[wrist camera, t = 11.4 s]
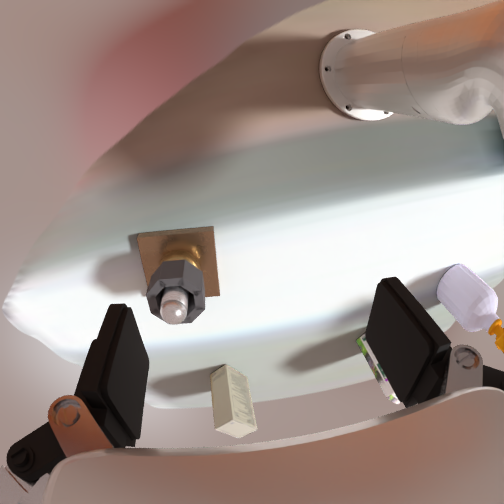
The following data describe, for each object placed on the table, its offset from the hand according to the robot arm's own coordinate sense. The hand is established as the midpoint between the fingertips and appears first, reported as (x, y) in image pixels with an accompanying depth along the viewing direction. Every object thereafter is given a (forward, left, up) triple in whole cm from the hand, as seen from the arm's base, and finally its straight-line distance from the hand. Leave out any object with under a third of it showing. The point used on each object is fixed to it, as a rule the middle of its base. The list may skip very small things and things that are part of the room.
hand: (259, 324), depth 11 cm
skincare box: (+2, +38, -28) cm, 48 cm away
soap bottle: (-43, +23, -28) cm, 56 cm away
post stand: (+7, +13, -28) cm, 32 cm away
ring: (+7, +13, -23) cm, 28 cm away
